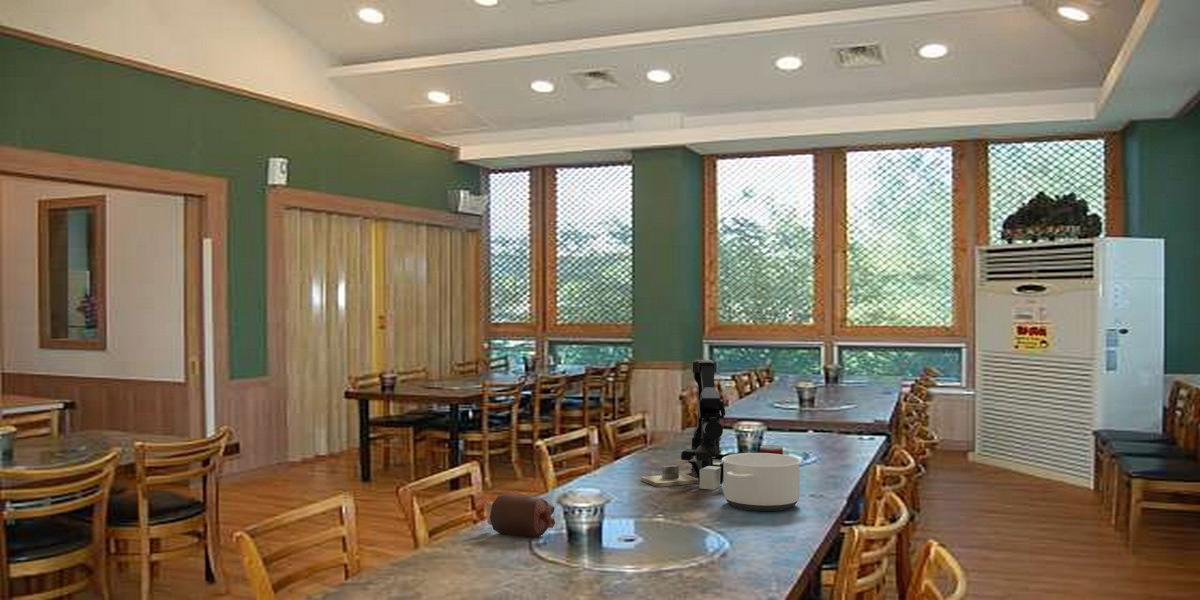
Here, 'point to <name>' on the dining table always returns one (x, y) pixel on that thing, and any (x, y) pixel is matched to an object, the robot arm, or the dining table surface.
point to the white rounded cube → (710, 477)
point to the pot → (761, 481)
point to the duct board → (671, 481)
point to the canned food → (771, 449)
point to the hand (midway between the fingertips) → (710, 483)
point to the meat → (520, 515)
